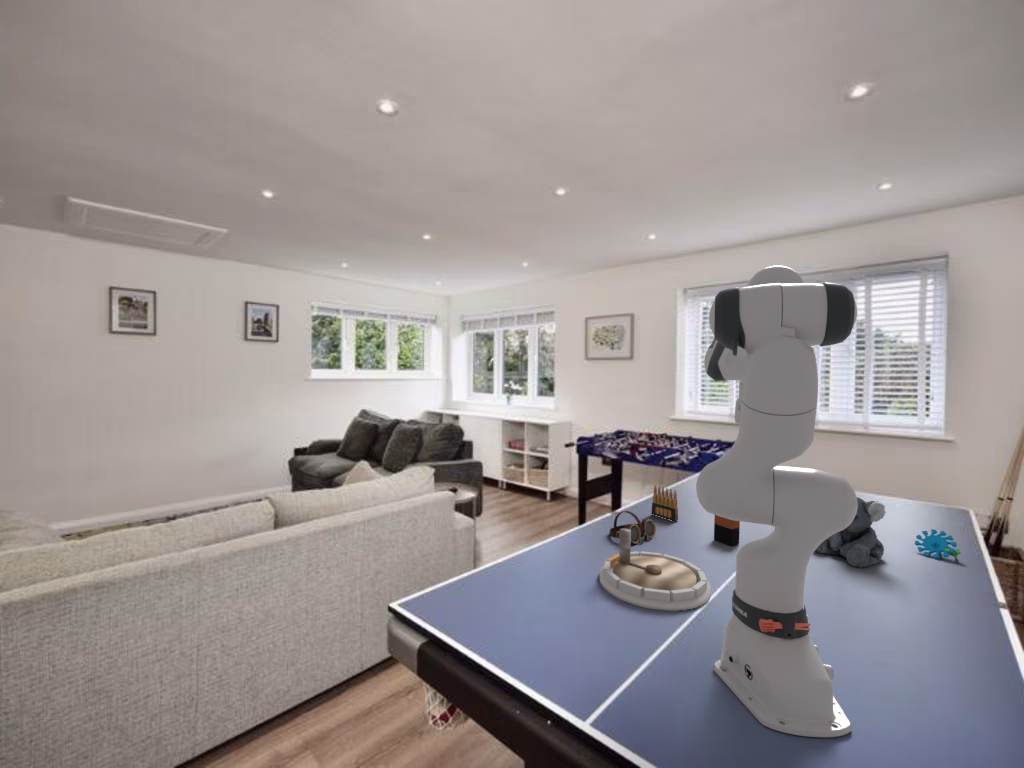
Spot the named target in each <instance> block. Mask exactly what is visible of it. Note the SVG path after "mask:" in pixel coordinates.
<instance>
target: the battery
mask: <svg viewBox="0 0 1024 768" xmlns="http://www.w3.org/2000/svg"><path fill="white" fill-rule="evenodd" d="M713 519H714V521H713V522H714V525H713V526H714V527H713V540H714V541H716V542H718V541H719V543H721V542H722V544H724V545H727V546H729V545H730V547H732V546H736V545H740V529H741V528H740V522H741V521H735V520H730V519H727V518H723V517H720V516H717V515H714V517H713Z"/></svg>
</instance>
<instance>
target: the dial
mask: <svg viewBox="0 0 1024 768" xmlns="http://www.w3.org/2000/svg"><path fill="white" fill-rule="evenodd" d="M618 546H619V547H618V549H619V550H618V554H619V560H618V561H617V562H615V564H614V565H613V573H614V574H615V575H616V576H618V577H619V578H620V579H621V580H624V581H626V582H629V583H632V584H635V585H638V586H640V587H643V593H644V588H651V589H659V590H667V591H672V590H680V589H687V588H692V587H693V586H694V585H696V575H695V574H694V572H693V571H692V570H690V569H689V568H687V567H686V566H684V565H682V564H680V563H677V562H674V561H671V560H668V559H663V557H662V558H658V557H651V556H641V555H640V556H632V557H630V552H631V551H632V550H631V530H630V529H626V528H622V529H620V539H619V545H618Z"/></svg>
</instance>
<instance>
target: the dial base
mask: <svg viewBox="0 0 1024 768" xmlns="http://www.w3.org/2000/svg"><path fill="white" fill-rule="evenodd" d="M632 556H651V557H658V558H663V559H668V560H671V561H674V562H677V563H680V564H682V565H684V566H686V567H687V568H689V569H690V570H692V571H693V572H694V574H695V575H696V585H694V586H693V587H692V588H687V589H680V590H672V591H667V590H659V589H651V588H644V593H643V587H640V586H638V585H635V584H632V583H629V582H626V581H624V580H621V579H620V578H619V577H618V576H616V575H615V574H614V573H613V565H614V564H615V562H617V561H618V560H619V553H616V554H613V556H611V557H608V558H606V560H605V561H604V565H603V566H602V567H601V568H600V570H599V583H600V585H601V586H602V588H603V589H604V590H605V591H606V592H607V593H608V594H610V595H611V596H613V597H615V598H616V599H619V600H620V601H621V602H622V601H623V602H626V603H628V604H630V605H634V606H635V607H637V606H638V607H641V608H644V609H650V610H657V611H664V612H665V611H666V612H667V611H668V612H680V611H679V610H683V611H688V610H687V609H690V610H694V609H693V608H695V609H697V607H698V608H700V607H702V606H704V605H706V604H707V603H708V602H709V601H710V600H711V597H712V586H711V583H710V582H709V581H708V579H707V577H706V574H705V572H704V571H703V570H702V568H700V567H698V566H697V565H695V564H693V563H692V562H690V561H688V560H685V559H683V558H680V557H676V556H673V555H670V554H666V553H664V554H663V553H661V552H649V551H640V552H639V551H635V550H634V551H630V557H632ZM708 600H709V601H708ZM706 602H707V603H706ZM705 603H706V604H705ZM703 604H704V605H703ZM699 606H700V607H699Z"/></svg>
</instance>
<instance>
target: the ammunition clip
mask: <svg viewBox="0 0 1024 768" xmlns="http://www.w3.org/2000/svg"><path fill="white" fill-rule="evenodd" d="M677 494H678V493H677V491H676V489H674V491H673V490H672V488H670V489H669V490H668V487H666V488H664V486H663V487H662V488H661V487H660V486H658V487H657V485H654V486H653V494H652V503H651V514H654V515H657V516H660V517H663V518H666V519H670V520H672V521H677V520H678V521H679V516H678V515H679V514H678V513H679V510H678V498H677V497H678V495H677ZM672 521H671V522H672Z"/></svg>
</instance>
